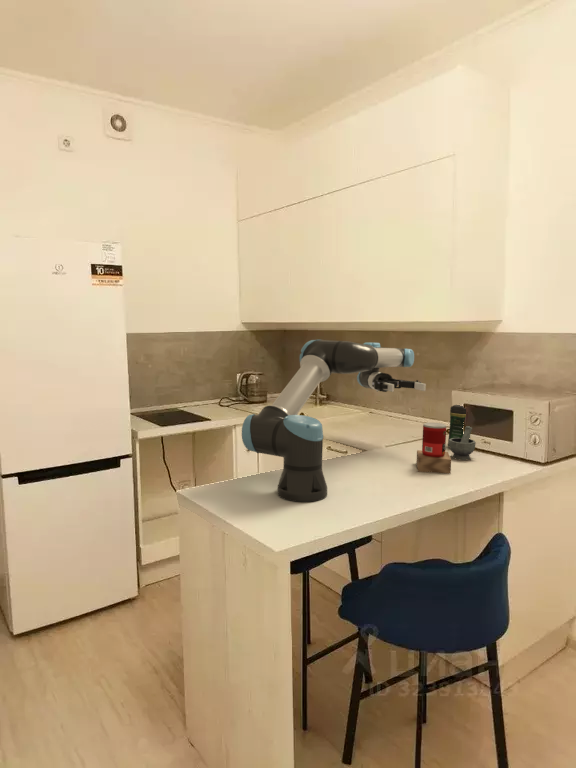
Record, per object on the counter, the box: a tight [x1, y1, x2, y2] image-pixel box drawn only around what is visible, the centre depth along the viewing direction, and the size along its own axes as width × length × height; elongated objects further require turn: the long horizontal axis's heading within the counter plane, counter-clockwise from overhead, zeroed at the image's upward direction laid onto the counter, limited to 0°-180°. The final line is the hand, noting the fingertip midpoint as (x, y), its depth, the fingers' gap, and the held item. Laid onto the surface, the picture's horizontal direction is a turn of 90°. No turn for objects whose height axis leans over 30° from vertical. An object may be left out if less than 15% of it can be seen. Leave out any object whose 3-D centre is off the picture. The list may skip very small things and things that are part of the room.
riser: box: [415, 449, 452, 474], centre depth 194 cm, size 11×11×5 cm
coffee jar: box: [447, 404, 466, 448], centre depth 225 cm, size 10×8×19 cm
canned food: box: [421, 422, 447, 457], centre depth 193 cm, size 8×8×11 cm
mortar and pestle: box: [448, 426, 477, 461], centre depth 209 cm, size 11×9×12 cm
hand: (409, 387), depth 201 cm, fingers open, 13 cm apart
